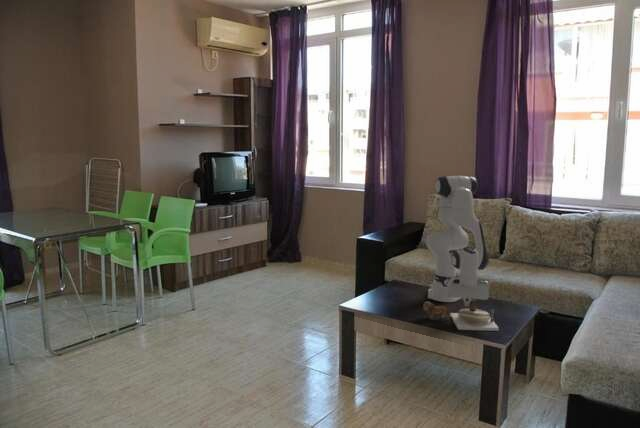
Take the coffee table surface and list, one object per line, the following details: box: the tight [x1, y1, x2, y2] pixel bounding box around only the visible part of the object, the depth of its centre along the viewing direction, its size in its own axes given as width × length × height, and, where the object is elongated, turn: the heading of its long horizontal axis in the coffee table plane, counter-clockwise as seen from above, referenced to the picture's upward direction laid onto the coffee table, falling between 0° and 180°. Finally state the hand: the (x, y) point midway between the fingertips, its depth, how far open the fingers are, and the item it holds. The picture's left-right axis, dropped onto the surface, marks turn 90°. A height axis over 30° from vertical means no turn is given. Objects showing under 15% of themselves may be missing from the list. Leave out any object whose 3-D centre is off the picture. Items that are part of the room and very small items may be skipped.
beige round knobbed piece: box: [457, 299, 491, 322], centre depth 255 cm, size 17×15×6 cm
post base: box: [449, 309, 500, 332], centre depth 254 cm, size 19×19×8 cm
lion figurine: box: [423, 301, 452, 321], centre depth 259 cm, size 15×5×9 cm, turn 91°
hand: (466, 306), depth 259 cm, fingers closed
